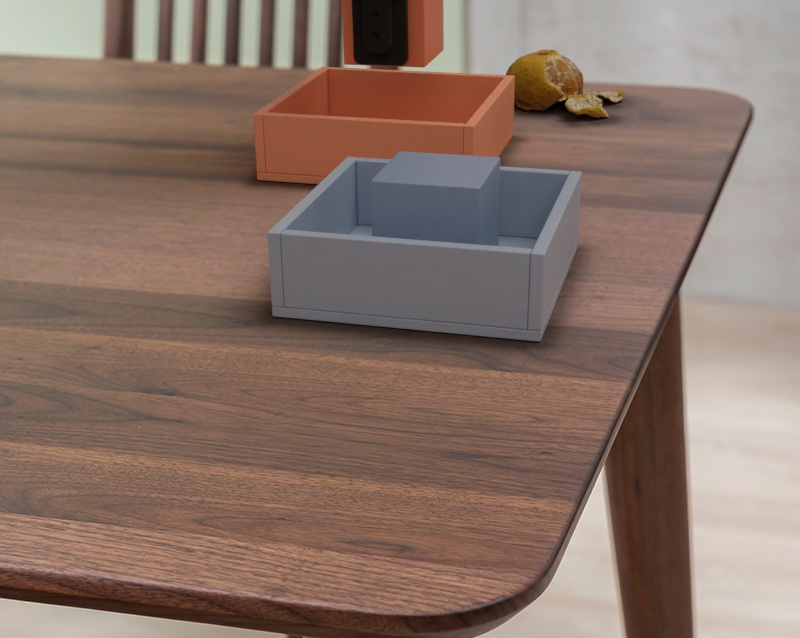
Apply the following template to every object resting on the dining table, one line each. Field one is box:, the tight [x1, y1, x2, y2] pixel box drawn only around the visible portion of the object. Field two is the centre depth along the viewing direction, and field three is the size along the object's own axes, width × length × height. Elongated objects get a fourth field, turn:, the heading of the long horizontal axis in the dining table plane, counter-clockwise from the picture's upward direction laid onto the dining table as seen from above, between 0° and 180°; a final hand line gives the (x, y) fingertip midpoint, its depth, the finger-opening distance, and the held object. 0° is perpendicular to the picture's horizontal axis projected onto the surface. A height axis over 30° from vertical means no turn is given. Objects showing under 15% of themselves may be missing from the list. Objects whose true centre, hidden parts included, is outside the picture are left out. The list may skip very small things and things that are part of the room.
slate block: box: [371, 151, 502, 246], centre depth 59 cm, size 5×5×5 cm
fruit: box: [505, 49, 626, 119], centre depth 90 cm, size 8×8×4 cm
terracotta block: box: [341, 0, 445, 68], centre depth 76 cm, size 5×5×5 cm
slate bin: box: [266, 157, 583, 343], centre depth 60 cm, size 12×12×4 cm
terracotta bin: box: [252, 66, 515, 185], centre depth 79 cm, size 13×13×4 cm
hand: (393, 50), depth 77 cm, fingers closed on terracotta block, 5 cm apart
